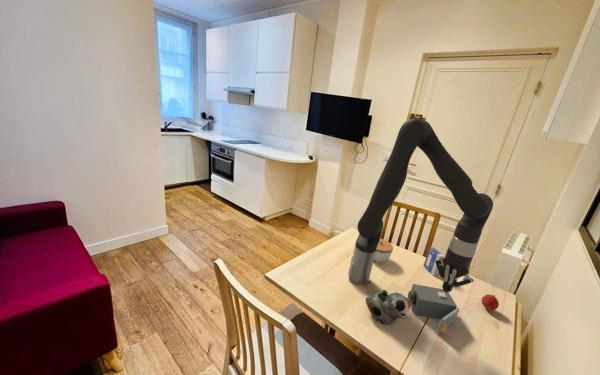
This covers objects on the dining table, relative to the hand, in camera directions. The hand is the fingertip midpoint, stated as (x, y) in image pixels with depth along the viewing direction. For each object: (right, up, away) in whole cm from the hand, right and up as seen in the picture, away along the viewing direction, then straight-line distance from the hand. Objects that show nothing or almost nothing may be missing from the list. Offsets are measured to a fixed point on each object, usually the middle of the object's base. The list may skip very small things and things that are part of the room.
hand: (446, 290), depth 90 cm
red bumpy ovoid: (+28, -16, +18) cm, 37 cm away
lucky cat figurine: (-19, -13, +9) cm, 25 cm away
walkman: (+15, -6, +40) cm, 43 cm away
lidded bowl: (-11, -1, +45) cm, 47 cm away
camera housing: (+1, -14, +14) cm, 19 cm away
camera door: (+3, -17, +5) cm, 17 cm away
